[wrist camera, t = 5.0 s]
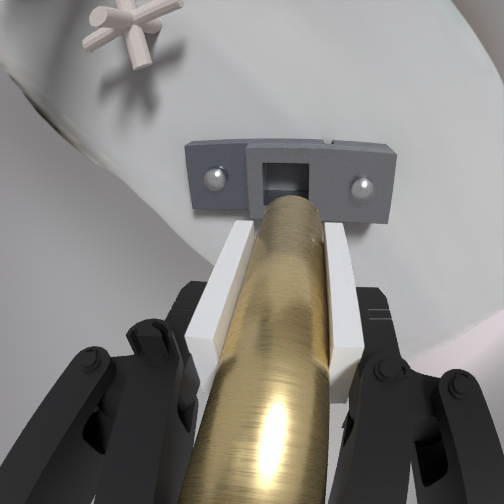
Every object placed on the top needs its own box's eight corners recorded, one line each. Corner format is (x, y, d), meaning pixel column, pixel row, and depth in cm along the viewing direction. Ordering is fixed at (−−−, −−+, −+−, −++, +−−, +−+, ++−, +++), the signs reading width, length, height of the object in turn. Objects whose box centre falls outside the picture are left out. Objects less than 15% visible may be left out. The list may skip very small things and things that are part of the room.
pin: (249, 185, 15) (89, 562, 2) (333, 186, 14) (362, 610, 1) (254, 255, 17) (165, 567, 4) (329, 258, 16) (322, 589, 3)
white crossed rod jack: (210, 50, 25) (169, 41, 16) (126, 83, 27) (67, 94, 19) (187, -28, 20) (141, -59, 12) (106, 10, 22) (46, 3, 14)
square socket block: (191, 141, 30) (173, 153, 26) (385, 144, 27) (399, 156, 23) (198, 201, 34) (184, 221, 30) (379, 207, 31) (389, 227, 27)
